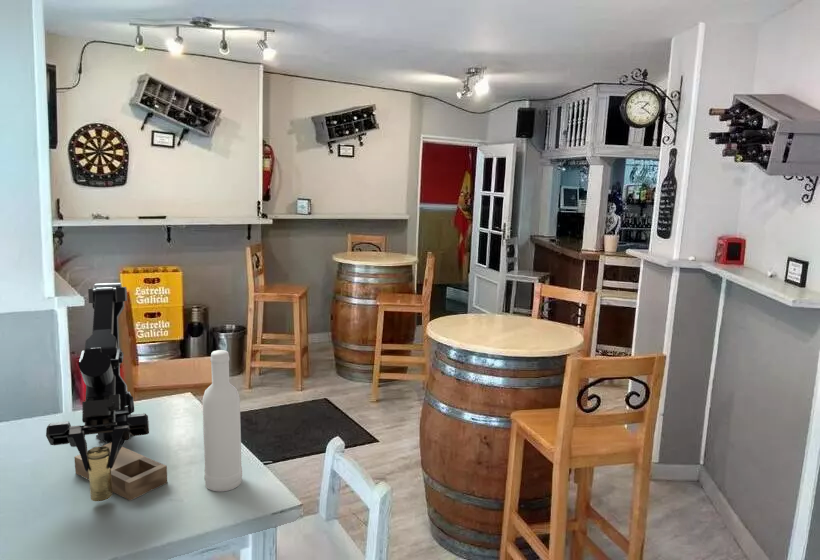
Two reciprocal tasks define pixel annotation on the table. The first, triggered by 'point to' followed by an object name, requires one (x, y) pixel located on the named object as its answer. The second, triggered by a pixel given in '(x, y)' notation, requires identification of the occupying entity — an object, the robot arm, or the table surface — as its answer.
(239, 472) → the bottle
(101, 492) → the disc
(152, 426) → the table surface
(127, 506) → the table surface
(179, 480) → the table surface
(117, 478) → the jig
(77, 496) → the table surface
